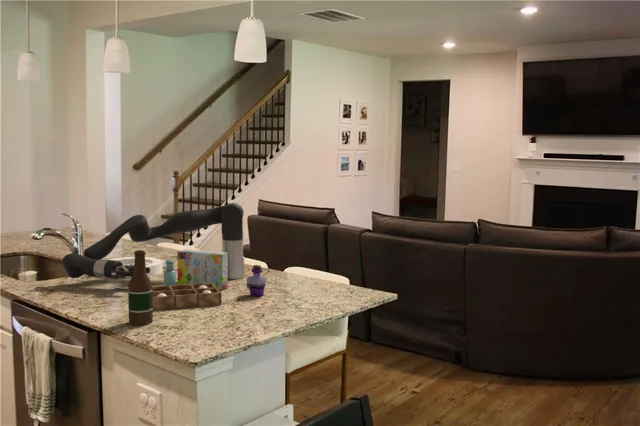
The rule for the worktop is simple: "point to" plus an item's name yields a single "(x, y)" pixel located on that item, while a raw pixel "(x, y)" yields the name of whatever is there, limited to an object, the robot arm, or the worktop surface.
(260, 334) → the worktop surface
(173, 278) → the bud vase
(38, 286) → the worktop surface
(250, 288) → the potion bottle
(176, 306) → the crate
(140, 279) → the beer bottle
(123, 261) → the white circle with bar
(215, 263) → the snack box
